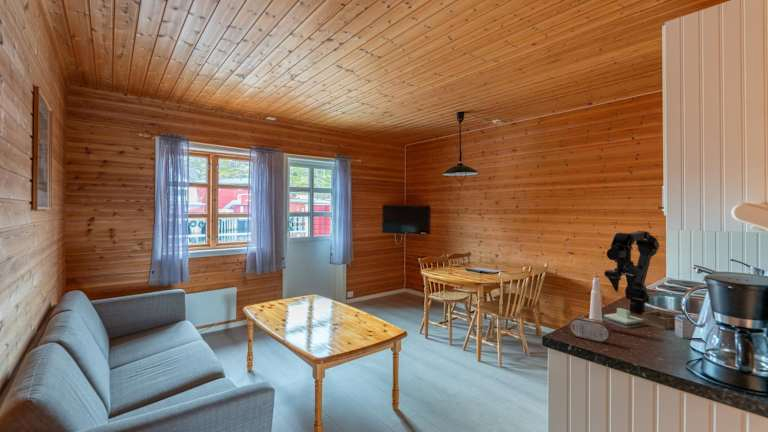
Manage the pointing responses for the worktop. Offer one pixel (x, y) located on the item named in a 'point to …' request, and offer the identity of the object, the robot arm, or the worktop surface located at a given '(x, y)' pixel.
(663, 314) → the crate
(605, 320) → the mat
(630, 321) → the lid
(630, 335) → the worktop surface
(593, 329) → the tin
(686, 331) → the medicine box
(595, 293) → the cosmetic bottle
